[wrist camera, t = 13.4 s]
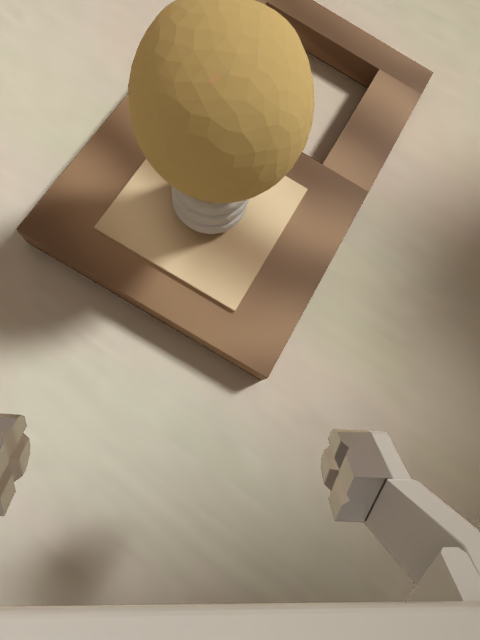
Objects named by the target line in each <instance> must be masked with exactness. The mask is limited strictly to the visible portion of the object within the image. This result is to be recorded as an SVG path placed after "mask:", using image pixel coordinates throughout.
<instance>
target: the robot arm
mask: <svg viewBox="0 0 480 640" xmlns="http://www.w3.org/2000/svg"><path fill="white" fill-rule="evenodd" d="M26 426H27V424H26V420H25V416H23V415H15V414H1V413H0V516H5V514H6V512H7V509H8V507H9V505H10V503H11V501H12V498H13V496H14V494H15V492H16V490H15V485H14V482H15V481H16V480H18V479H19V478H20V477H22V476H23V474H24V472H25V469H26V467H27V464H28V460H29V456H30V441H29V438H28V437H27V436H26V435H25V434H24V433H23V432H24V430H25V428H26ZM328 440H329V443H330V446H329V447H327V448H326V449H325V450H324V452H323V455H322V459H321V472H322V478H323V481H324V484H325V485H326V486H327V487H328V488H329V489H330V490H331V493H330V496H329V498H328V499H329V502H330V506H331V509H332V513H333V516H334V519H335V521H345V522H366V523H365V525H366V526H367V527H368V528H369V529H370V531H371V532H372V533H373V534H374V535H375V537H376V538H377V539H378V540H379V541H380V542H381V544H382V545H383V546H384V547H385V548H386V550H387V551H388V552H389V553H390V554H391V555H392V557H393V558H394V559H395V560H396V561H397V562H398V564H399V565H400V566H401V567H402V568H403V570H404V571H405V572H406V573H407V574H408V575H409V577H410V578H411V579H412V580H413V581H414V583H415V584H416V587H415V588H414V589H413V591H412V592H411V594H410V595H409V597H408V598H407V600H406V602H327V603H240V604H158V605H80V606H0V640H480V531H479V530H478V529H477V528H475V527H474V526H473V525H472V524H470V523H469V522H468V521H467V520H465V519H464V518H463V517H462V516H461V515H459V514H458V513H457V512H456V511H454V510H453V509H452V508H451V507H449V506H448V505H447V504H446V503H444V502H443V501H442V500H441V499H440V498H438V497H437V496H436V495H435V494H433V493H432V492H431V491H430V490H428V489H427V488H426V487H425V486H423V485H422V484H421V483H420V482H419V481H417V480H411V478H410V476H409V474H408V472H407V470H406V468H405V466H404V464H403V462H402V460H401V458H400V456H399V454H398V452H397V450H396V448H395V446H394V444H393V443H392V441H391V439H390V437H389V435H388V434H387V433H386V432H385V431H366V430H340V429H333V430H332V431H331V432H330V435H329V438H328Z"/></svg>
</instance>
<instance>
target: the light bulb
mask: <svg viewBox="0 0 480 640" xmlns="http://www.w3.org/2000/svg"><path fill="white" fill-rule="evenodd" d="M128 94H129V115H130V119H131V123H132V127H133V131H134V134H135V136H136V139H137V142H138V144H139V147H140V148H141V150H142V152H143V154H144V155H145V157H146V159H147V160H148V162H149V163H150V165H151V166H152V167H153V168H154V169H155V171H156V172H157V173H158V174H159V175H160V176H161V177H162V178H163V179H164V180H165V181H166V182H167V183H169V184H170V185H172V203H173V207H174V210H175V212H176V214H177V215H178V217H179V219H180V220H181V221H182V222H183V223H184V224H186V225H187V226H188V227H190V228H191V229H193V230H195V231H197V232H201V233H205V234H216V233H222V232H225V231H228V230H229V229H231V228H232V227H234V226H235V225H236V224H238V223H239V221H240V220H241V219H242V217H243V215H244V213H245V210H246V207H247V203H248V201H249V199H250V198H253V197H255V196H257V195H259V194H261V193H263V192H265V191H267V190H269V189H270V188H271V187H273V186H274V185H276V184H277V183H278V182H279V181H280V180H281V179H282V178H283V177H284V176H285V175H286V174H287V173H288V172H289V171H290V170H291V169H292V168H293V166H294V164H295V163H296V161H297V160H298V158H299V156H300V154H301V153H302V151H303V149H304V148H305V145H306V142H307V139H308V136H309V132H310V129H311V126H312V121H313V112H314V85H313V78H312V73H311V69H310V64H309V60H308V57H307V54H306V52H305V50H304V47H303V45H302V43H301V40H300V38H299V36H298V34H297V33H296V31H295V29H294V28H293V27H292V25H291V24H290V23H289V22H288V21H287V20H286V19H285V18H284V17H283V16H282V15H280V14H279V13H278V12H277V11H275V10H274V9H272V8H270V7H268V6H266V5H265V4H263V3H260V2H257V1H255V0H176V1H174V2H172V3H171V4H169V5H168V6H166V7H165V8H164V9H163V10H162V11H161V12H160V13H159V14H158V16H157V17H156V18H155V20H154V21H153V22H152V24H151V25H150V26H149V28H148V29H147V31H146V33H145V35H144V36H143V38H142V40H141V42H140V44H139V46H138V49H137V51H136V54H135V57H134V60H133V64H132V68H131V73H130V79H129V85H128Z"/></svg>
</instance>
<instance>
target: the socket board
mask: <svg viewBox="0 0 480 640" xmlns="http://www.w3.org/2000/svg"><path fill="white" fill-rule="evenodd" d="M255 1H257V2H260V3H263V4H265V5H266V6H268V7H270V8H272V9H274V10H275V11H277V12H278V13H279V14H280V15H282V16H283V17H284V18H285V19H286V20H287V21H288V22H289V23H290V24H291V25H292V27H293V28H294V29H295V31H296V33H297V34H298V36H299V38H300V40H301V43H302V45H303V47H304V50H305V51H307V52H309V53H310V54H312V55H314V56H315V57H317V58H319V59H321V60H322V61H324V62H326V63H327V64H329V65H331V66H332V67H334V68H336V69H337V70H339V71H341V72H342V73H344V74H346V75H347V76H349V77H351V78H352V79H354V80H356V81H357V82H359V83H361V84H362V85H364V86H366V87H367V88H368V89H367V91H366V93H365V94H364V96H363V98H362V99H361V101H360V103H359V104H358V106H357V108H356V109H355V111H354V113H353V114H352V116H351V118H350V119H349V121H348V123H347V124H346V126H345V128H344V129H343V131H342V133H341V134H340V136H339V138H338V139H337V141H336V143H335V144H334V146H333V148H332V149H331V151H330V153H329V154H328V156H327V158H326V160H325V161H324V163H323V164H321V163H319V162H318V161H316V160H314V159H313V158H311V157H309V156H308V155H306V154H304V153H303V152H302V153H301V154H300V156H299V158H298V160H297V161H296V163H295V164H294V166H293V168H292V169H291V170H290V171H289V172H288V173H287V174H286V175H285V176H284V177H283V178H282V179H281V180H280V181H279V182H278V183H277V184H276V185H274V186H273V187H271V188H270V189H269V190H267V191H265V192H263V193H261V194H259V195H257V196H255V197H253V198H250V199H249V201H248V203H247V207H246V210H245V213H244V215H243V217H242V219H241V220H240V221H239V223H238V224H236V225H235V226H234V227H232V228H231V229H229V230H228V231H225V232H222V233H216V234H205V233H201V232H197V231H195V230H193V229H191V228H190V227H188V226H187V225H186V224H184V223H183V222H182V221H181V220H180V219H179V217H178V215H177V214H176V212H175V210H174V207H173V203H172V185H170V184H169V183H167V182H166V181H165V180H164V179H163V178H162V177H161V176H160V175H159V174H158V173H157V172H156V171H155V169H154V168H153V167H152V166H151V165H150V163H149V162H148V160H147V159H146V157H145V155H144V154H143V152H142V150H141V148H140V147H139V144H138V142H137V139H136V136H135V134H134V131H133V127H132V123H131V119H130V115H129V94H127V96H126V97H125V98H124V99H123V100H122V102H121V103H120V104H119V105H118V107H117V108H116V109H115V110H114V111H113V113H112V114H111V115H110V116H109V117H108V119H107V120H106V121H105V122H104V124H103V125H102V126H101V127H100V128H99V130H98V131H97V132H96V133H95V134H94V136H93V137H92V138H91V139H90V140H89V142H88V143H87V144H86V145H85V147H84V148H83V149H82V150H81V151H80V153H79V154H78V155H77V156H76V157H75V159H74V160H73V161H72V162H71V163H70V165H69V166H68V167H67V168H66V170H65V171H64V172H63V173H62V174H61V176H60V177H59V178H58V179H57V180H56V182H55V183H54V184H53V185H52V187H51V188H50V189H49V190H48V191H47V193H46V194H45V195H44V196H43V197H42V199H41V200H40V201H39V202H38V203H37V205H36V206H35V207H34V208H33V210H32V211H31V212H30V213H29V214H28V216H27V217H26V218H25V219H24V220H23V222H22V223H21V224H20V225H19V227H18V228H17V231H18V232H19V233H20V234H21V235H22V236H23V237H24V239H25V240H26V241H27V242H28V243H30V244H32V245H33V246H35V247H37V248H38V249H40V250H42V251H44V252H45V253H47V254H49V255H50V256H52V257H54V258H55V259H57V260H59V261H60V262H62V263H64V264H66V265H67V266H69V267H71V268H72V269H74V270H76V271H77V272H79V273H81V274H82V275H84V276H86V277H88V278H89V279H91V280H93V281H94V282H96V283H98V284H99V285H101V286H103V287H104V288H106V289H108V290H110V291H111V292H113V293H115V294H116V295H118V296H120V297H121V298H123V299H125V300H126V301H128V302H130V303H132V304H133V305H135V306H137V307H138V308H140V309H142V310H143V311H145V312H147V313H148V314H150V315H152V316H154V317H155V318H157V319H159V320H160V321H162V322H164V323H165V324H167V325H169V326H170V327H172V328H174V329H176V330H177V331H179V332H181V333H182V334H184V335H186V336H187V337H189V338H191V339H192V340H194V341H196V342H198V343H199V344H201V345H203V346H204V347H206V348H208V349H209V350H211V351H213V352H214V353H216V354H218V355H220V356H221V357H223V358H225V359H226V360H228V361H230V362H231V363H233V364H235V365H236V366H238V367H240V368H242V369H243V370H245V371H247V372H248V373H250V374H252V375H253V376H255V377H257V378H258V379H260V380H264V379H266V378H268V376H269V375H270V373H271V371H272V369H273V367H274V365H275V363H276V362H277V360H278V358H279V356H280V354H281V352H282V351H283V349H284V347H285V345H286V343H287V341H288V339H289V338H290V336H291V334H292V332H293V330H294V328H295V327H296V325H297V323H298V321H299V319H300V317H301V316H302V314H303V312H304V310H305V308H306V306H307V304H308V303H309V301H310V299H311V297H312V295H313V293H314V292H315V290H316V288H317V286H318V284H319V282H320V280H321V279H322V277H323V275H324V273H325V271H326V269H327V268H328V266H329V264H330V262H331V260H332V258H333V257H334V255H335V253H336V251H337V249H338V247H339V245H340V244H341V242H342V240H343V238H344V236H345V234H346V233H347V231H348V229H349V227H350V225H351V223H352V221H353V220H354V218H355V216H356V214H357V212H358V210H359V209H360V207H361V205H362V203H363V201H364V199H365V198H366V196H367V194H368V192H369V190H370V188H371V186H372V185H373V183H374V181H375V179H376V177H377V175H378V174H379V172H380V170H381V168H382V166H383V164H384V162H385V161H386V159H387V157H388V155H389V153H390V151H391V150H392V148H393V146H394V144H395V142H396V140H397V139H398V137H399V135H400V133H401V131H402V129H403V127H404V126H405V124H406V122H407V120H408V118H409V116H410V115H411V113H412V111H413V109H414V107H415V105H416V104H417V102H418V100H419V98H420V96H421V94H422V92H423V91H424V89H425V87H426V85H427V83H428V81H429V80H430V78H431V76H432V74H433V72H432V71H430V70H428V69H427V68H425V67H423V66H421V65H420V64H418V63H416V62H415V61H413V60H411V59H410V58H408V57H406V56H405V55H403V54H401V53H400V52H398V51H396V50H395V49H393V48H391V47H390V46H388V45H386V44H385V43H383V42H381V41H380V40H378V39H376V38H375V37H373V36H371V35H370V34H368V33H366V32H365V31H363V30H361V29H360V28H358V27H356V26H355V25H353V24H351V23H350V22H348V21H346V20H345V19H343V18H341V17H340V16H338V15H336V14H335V13H333V12H331V11H330V10H328V9H326V8H325V7H323V6H321V5H320V4H318V3H316V2H315V1H313V0H255Z"/></svg>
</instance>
